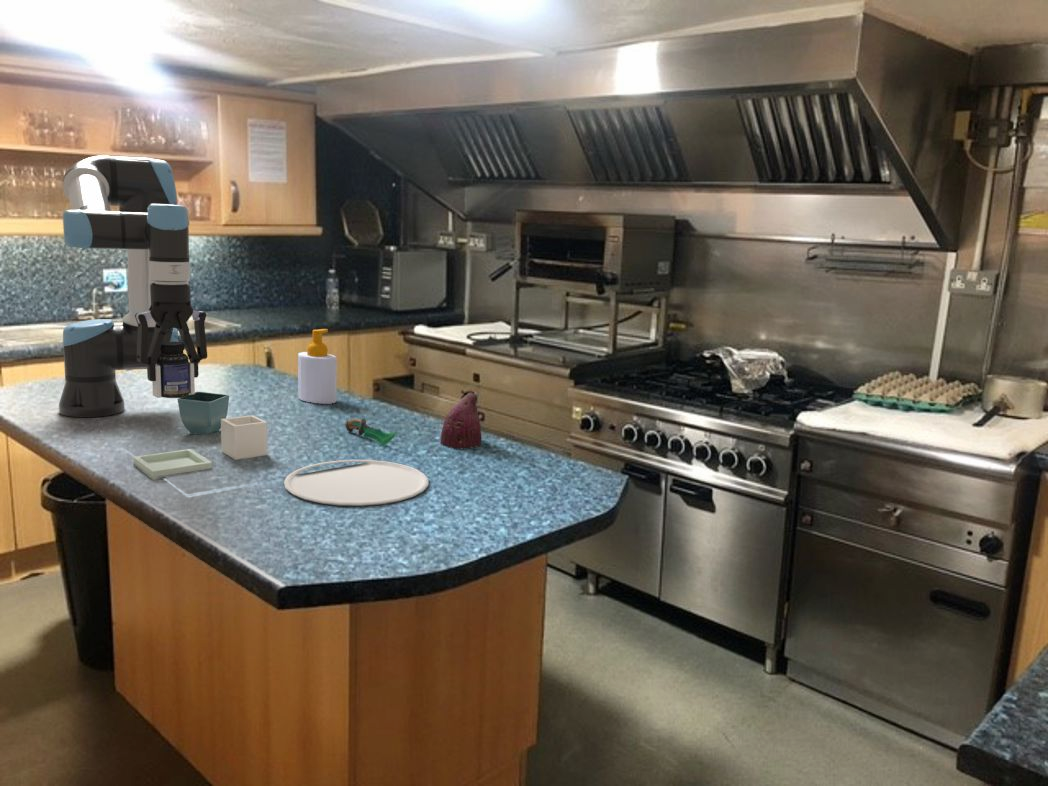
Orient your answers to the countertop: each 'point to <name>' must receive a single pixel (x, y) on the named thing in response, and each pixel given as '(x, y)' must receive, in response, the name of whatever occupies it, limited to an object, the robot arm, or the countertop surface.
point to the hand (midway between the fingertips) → (174, 394)
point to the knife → (369, 431)
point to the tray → (171, 463)
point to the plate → (357, 483)
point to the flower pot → (203, 411)
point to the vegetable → (462, 424)
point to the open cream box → (244, 437)
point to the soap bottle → (317, 372)
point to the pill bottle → (173, 370)
